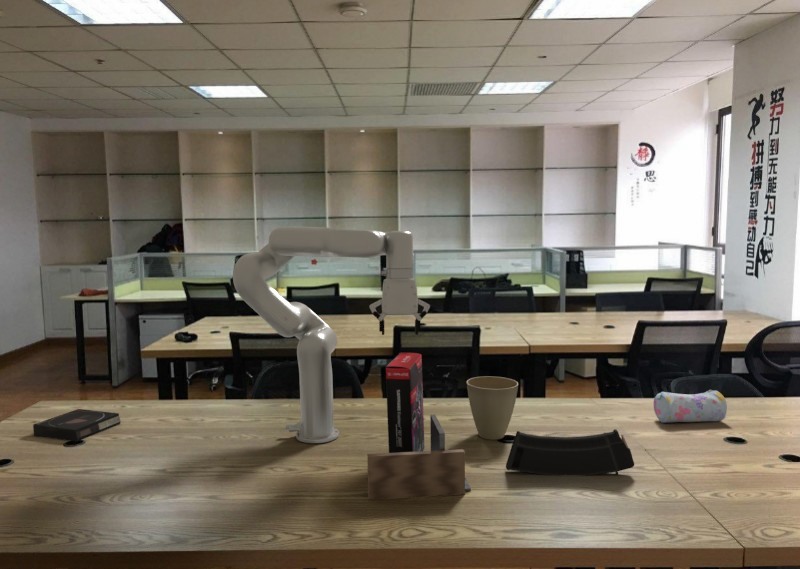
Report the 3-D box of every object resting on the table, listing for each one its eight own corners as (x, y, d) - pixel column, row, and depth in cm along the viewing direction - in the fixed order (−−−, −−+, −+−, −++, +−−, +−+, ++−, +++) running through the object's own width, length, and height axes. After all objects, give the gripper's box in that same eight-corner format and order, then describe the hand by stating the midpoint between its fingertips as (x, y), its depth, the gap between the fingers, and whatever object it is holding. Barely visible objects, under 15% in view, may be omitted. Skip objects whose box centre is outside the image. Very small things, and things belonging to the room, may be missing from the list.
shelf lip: (368, 499, 134) (367, 456, 133) (368, 496, 135) (367, 454, 135) (464, 494, 136) (464, 451, 135) (463, 491, 138) (463, 449, 137)
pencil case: (712, 415, 191) (713, 386, 191) (730, 424, 183) (731, 393, 182) (650, 418, 189) (651, 389, 188) (665, 427, 180) (666, 396, 180)
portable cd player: (77, 443, 174) (77, 430, 174) (34, 437, 180) (33, 424, 179) (120, 425, 190) (120, 413, 189) (79, 420, 195) (78, 408, 195)
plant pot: (495, 448, 164) (495, 391, 163) (456, 435, 176) (455, 382, 174) (528, 435, 174) (528, 382, 173) (489, 424, 185) (489, 373, 184)
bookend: (439, 492, 137) (439, 433, 136) (430, 468, 151) (430, 414, 150) (470, 491, 138) (470, 432, 137) (458, 467, 152) (458, 413, 150)
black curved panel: (497, 439, 146) (617, 405, 143) (495, 434, 149) (613, 401, 146) (517, 504, 147) (637, 472, 144) (515, 498, 150) (633, 466, 148)
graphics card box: (413, 474, 147) (412, 366, 145) (386, 473, 149) (384, 365, 146) (424, 450, 164) (423, 352, 162) (400, 448, 165) (398, 351, 163)
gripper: (368, 275, 166) (369, 336, 167) (431, 275, 166) (431, 336, 168) (369, 273, 173) (369, 332, 175) (428, 273, 174) (428, 331, 175)
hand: (399, 334), depth 171 cm, fingers open, 9 cm apart
